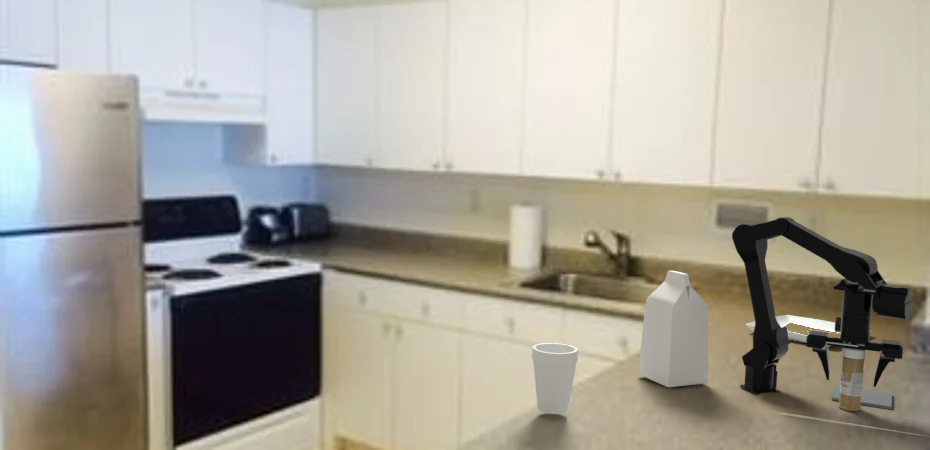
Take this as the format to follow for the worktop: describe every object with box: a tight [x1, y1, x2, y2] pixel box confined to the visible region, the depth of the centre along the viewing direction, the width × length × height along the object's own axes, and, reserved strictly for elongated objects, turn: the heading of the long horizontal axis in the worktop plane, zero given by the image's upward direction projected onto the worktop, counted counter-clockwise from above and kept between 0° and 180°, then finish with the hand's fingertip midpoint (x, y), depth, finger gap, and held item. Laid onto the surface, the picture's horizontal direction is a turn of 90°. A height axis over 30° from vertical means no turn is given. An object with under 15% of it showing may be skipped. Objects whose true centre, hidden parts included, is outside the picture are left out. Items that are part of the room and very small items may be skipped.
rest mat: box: [831, 384, 893, 410], centre depth 188 cm, size 12×12×1 cm
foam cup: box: [531, 342, 579, 415], centre depth 173 cm, size 10×9×13 cm
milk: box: [637, 270, 709, 388], centre depth 199 cm, size 12×12×26 cm
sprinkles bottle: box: [838, 347, 866, 412], centre depth 179 cm, size 5×5×14 cm
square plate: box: [745, 314, 873, 347], centre depth 252 cm, size 27×27×4 cm
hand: (851, 383), depth 180 cm, fingers open, 9 cm apart
